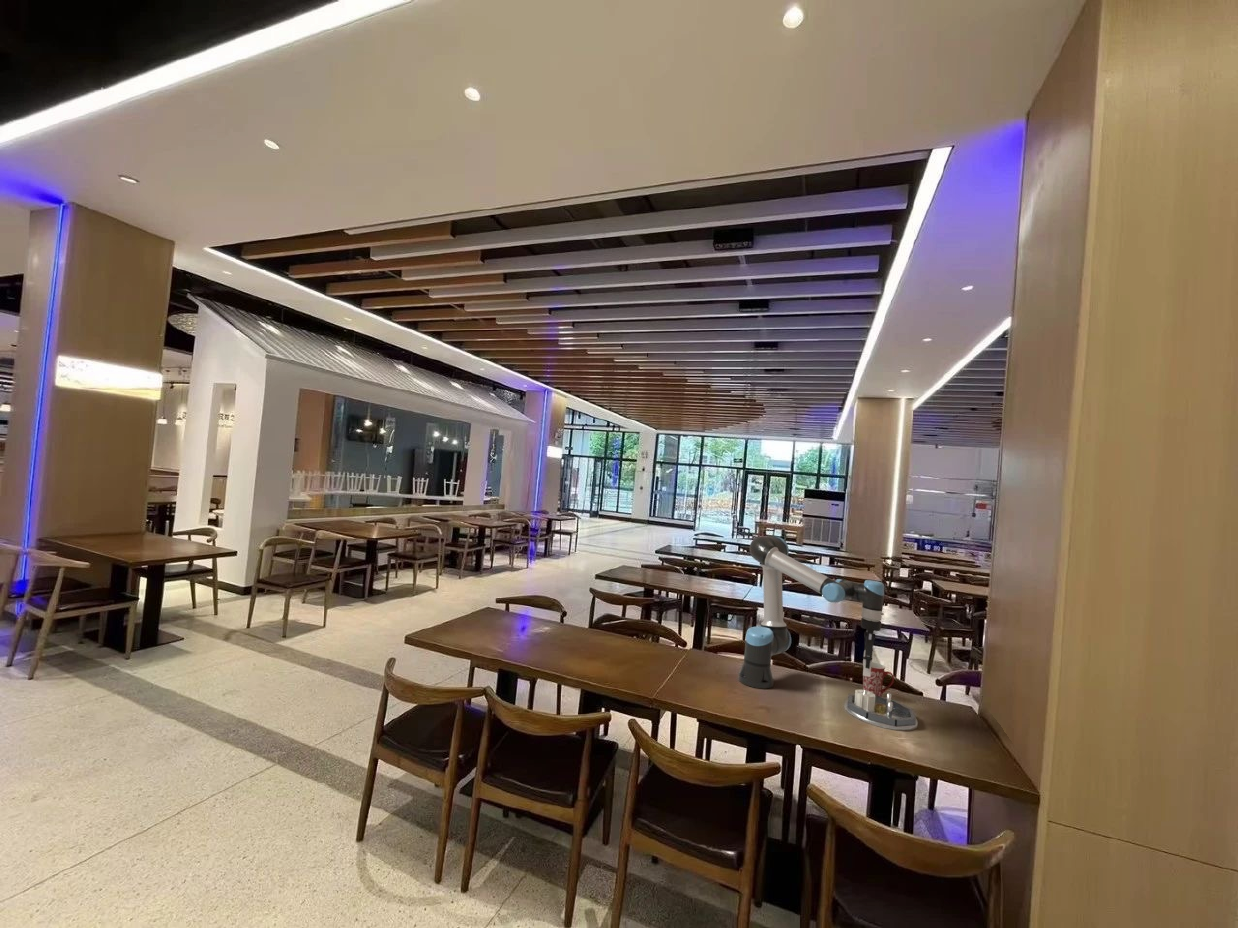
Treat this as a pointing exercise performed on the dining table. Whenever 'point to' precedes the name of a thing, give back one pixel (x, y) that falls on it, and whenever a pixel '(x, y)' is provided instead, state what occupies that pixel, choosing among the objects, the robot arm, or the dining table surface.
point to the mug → (876, 679)
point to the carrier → (884, 713)
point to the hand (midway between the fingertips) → (866, 671)
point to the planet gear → (865, 700)
